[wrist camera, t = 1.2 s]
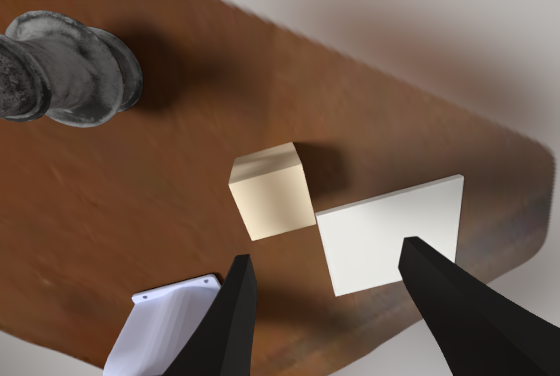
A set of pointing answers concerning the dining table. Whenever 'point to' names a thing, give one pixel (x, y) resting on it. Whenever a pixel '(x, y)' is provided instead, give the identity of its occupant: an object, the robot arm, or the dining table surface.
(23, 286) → the dining table surface
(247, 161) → the birch block
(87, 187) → the dining table surface
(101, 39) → the grey stone chess piece
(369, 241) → the white mat
